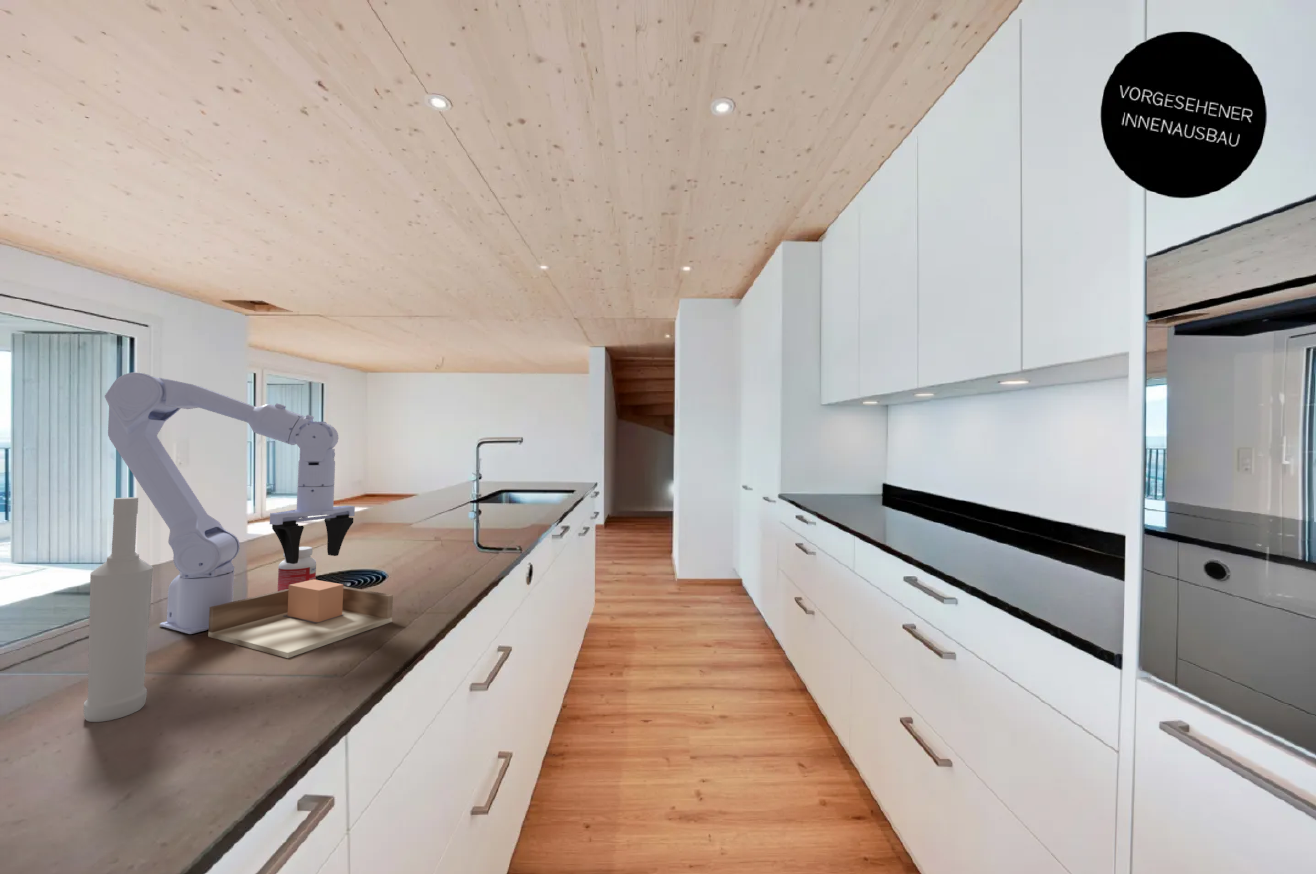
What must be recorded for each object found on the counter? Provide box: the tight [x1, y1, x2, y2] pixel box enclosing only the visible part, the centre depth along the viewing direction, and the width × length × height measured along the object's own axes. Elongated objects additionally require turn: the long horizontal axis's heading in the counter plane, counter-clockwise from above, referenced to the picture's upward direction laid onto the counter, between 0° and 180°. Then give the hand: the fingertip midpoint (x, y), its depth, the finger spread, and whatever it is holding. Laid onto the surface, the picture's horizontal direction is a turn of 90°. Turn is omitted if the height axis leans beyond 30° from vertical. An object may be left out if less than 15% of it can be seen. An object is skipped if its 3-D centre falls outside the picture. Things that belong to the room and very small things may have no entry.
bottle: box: [83, 496, 154, 723], centre depth 60 cm, size 5×5×25 cm
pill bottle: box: [276, 546, 317, 592], centre depth 101 cm, size 6×6×11 cm
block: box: [287, 579, 344, 622], centre depth 93 cm, size 8×4×6 cm, turn 68°
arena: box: [207, 585, 394, 659], centre depth 88 cm, size 20×18×5 cm
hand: (313, 559), depth 95 cm, fingers open, 7 cm apart
